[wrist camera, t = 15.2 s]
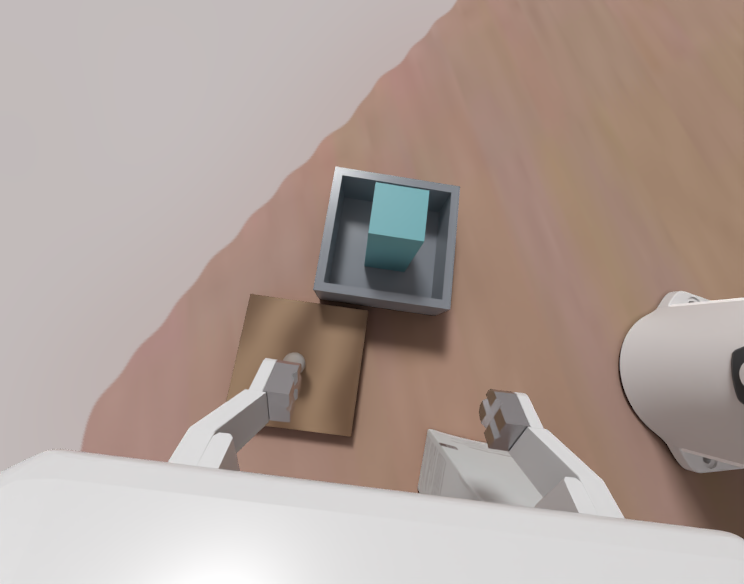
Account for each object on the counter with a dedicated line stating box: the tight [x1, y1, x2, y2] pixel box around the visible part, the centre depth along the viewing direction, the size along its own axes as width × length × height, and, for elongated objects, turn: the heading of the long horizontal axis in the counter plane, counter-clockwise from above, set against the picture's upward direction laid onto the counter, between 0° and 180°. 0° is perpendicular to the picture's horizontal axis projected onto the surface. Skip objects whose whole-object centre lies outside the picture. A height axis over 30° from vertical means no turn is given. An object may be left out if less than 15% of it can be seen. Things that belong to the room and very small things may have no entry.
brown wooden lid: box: [226, 294, 368, 437], centre depth 27 cm, size 12×12×5 cm
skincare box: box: [418, 429, 543, 507], centre depth 21 cm, size 8×6×15 cm
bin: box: [313, 167, 460, 316], centre depth 30 cm, size 13×13×5 cm
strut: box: [364, 182, 429, 272], centre depth 27 cm, size 4×4×9 cm
